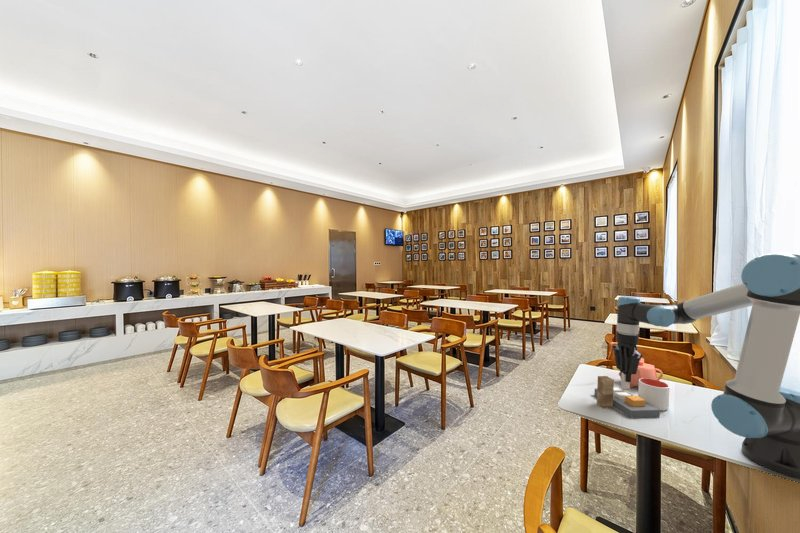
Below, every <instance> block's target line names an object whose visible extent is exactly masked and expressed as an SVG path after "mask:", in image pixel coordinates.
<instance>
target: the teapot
mask: <svg viewBox="0 0 800 533" xmlns="http://www.w3.org/2000/svg"><path fill="white" fill-rule="evenodd" d="M657 372H659V376H657V375H658V374H657ZM663 373H664V372H663V371H662V370H661V369H659V368H655V365H654V364H650V363H646V362H645V358H643V357H641V359H640V361H639V365H638V369H637V372H636V374H632V375H631V382H630V388H631V387H634V388H635V387H637V388H639V379H642V378H647V379H654V380H658V381H661V379H662V378H663V376H664V374H663ZM618 375H619V377H620V376H621V372H620V371H619V373H618Z"/></svg>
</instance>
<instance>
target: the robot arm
mask: <svg viewBox="0 0 800 533" xmlns="http://www.w3.org/2000/svg"><path fill="white" fill-rule="evenodd" d="M740 278H741V283H739V284H736V285H732V286H729V287H725V288H722V289H720V290H716V291H713V292H710V293H707V294H704V295H699V296H698V297H694V298H691V299H688V300H685V301H681V302H679V303H675V304H659V305H658V304H647V303H642V302H641V299H640V298H639V297H637V296H626V295H625V296H620V297H618V299H617V305H616V307H617V308H616V309H617V313H616V314H617V315H616V316H617V318H616V336H615V337H616V338H615V339H616V342H617V344H615V345H612V350H613V352H614V353H613V354H614V360H615V361H614V362H615V366H616V370H619V373H620V372H621V376H619V377H620V389H622V390H630V389H631V387H630V382H631V375H632V374H636V372H637V369H638V365H639V361H640V359H641V358H643V354H642V353H640V352H638V347H637V345H638V344H639V342H640V340H639V339H640V338H639V335H638V334H640V333H639V332H640V323H644V324H648V325H653V326H655V327H662V328H669V327H670V326H671V325H678V324H679V325H680V324H681V325H686V324H687V325H688V324H692V323H695V322H696V321H697V320H700V319H704V318H708V317H712V316H716V315H721V314H724V313H729V312H732V311H736V310H741V309H743V308H747V307H748V308H749V307H751V309H750V315H749V317H748V322H747V326H746V331H745V335H744V339H743V343H742V347H741V351H740V356H739V360H738V363H737V367H736V372H735V376H734V378H732V379H729V380H727V381H726V382H725V385H724V390H723V393H721V394H718V395H716V396H715V397H714V398H713V399H712V400H711V411H712V414H713V415H714V417H715V418H716V419H717V421H718V423H719V424H720V425H721V426H722V427H724V428H725V429H726V430H728V431H729V432H731V433H732V434H735V435H736V436H739V437H742V438H744V439H743V441H742V442H741V452H742V454H743V455H745V456H746V457H747V458H748V459H750V460H751V461H753V462H755V463H756V464H758V465H760V466H762V467H764V468H767V469H769V470H772V471H775V472H777V473H780V474H783V475H785V474H786V476H790V477H793V478H798V479H800V392H799V391H796V390H793V389H790V388H786V387H784V386H783V387H782V382H783V378H784V375H785V371H786V368H787V364H788V361H789V356H790V353H791V349H792V344H793V342H794V339H795V334H796V331H797V326H798V323H799V319H800V253H791V252H774V253H767V254H762V255H759V256H757V257H755V258H752V259H751V260H750V261H748V262H747V263H746V264H745V265H744V266H743V268H742V270H741V275H740Z"/></svg>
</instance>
